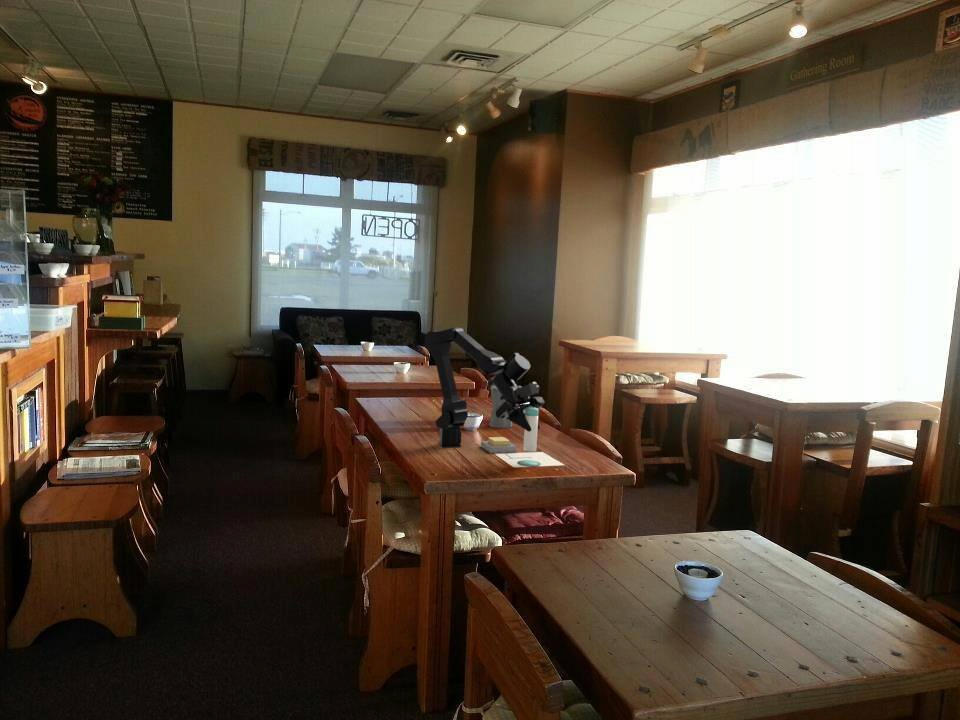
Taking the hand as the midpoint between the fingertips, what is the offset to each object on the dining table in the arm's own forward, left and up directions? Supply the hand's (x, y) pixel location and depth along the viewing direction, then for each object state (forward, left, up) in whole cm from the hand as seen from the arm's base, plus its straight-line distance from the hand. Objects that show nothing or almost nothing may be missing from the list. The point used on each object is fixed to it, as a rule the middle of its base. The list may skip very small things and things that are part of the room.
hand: (534, 429), depth 234 cm
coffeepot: (+12, +59, -11) cm, 61 cm away
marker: (-1, +1, -7) cm, 7 cm away
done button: (-4, +20, -9) cm, 23 cm away
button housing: (-4, +20, -11) cm, 23 cm away
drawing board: (+1, +6, -11) cm, 13 cm away
